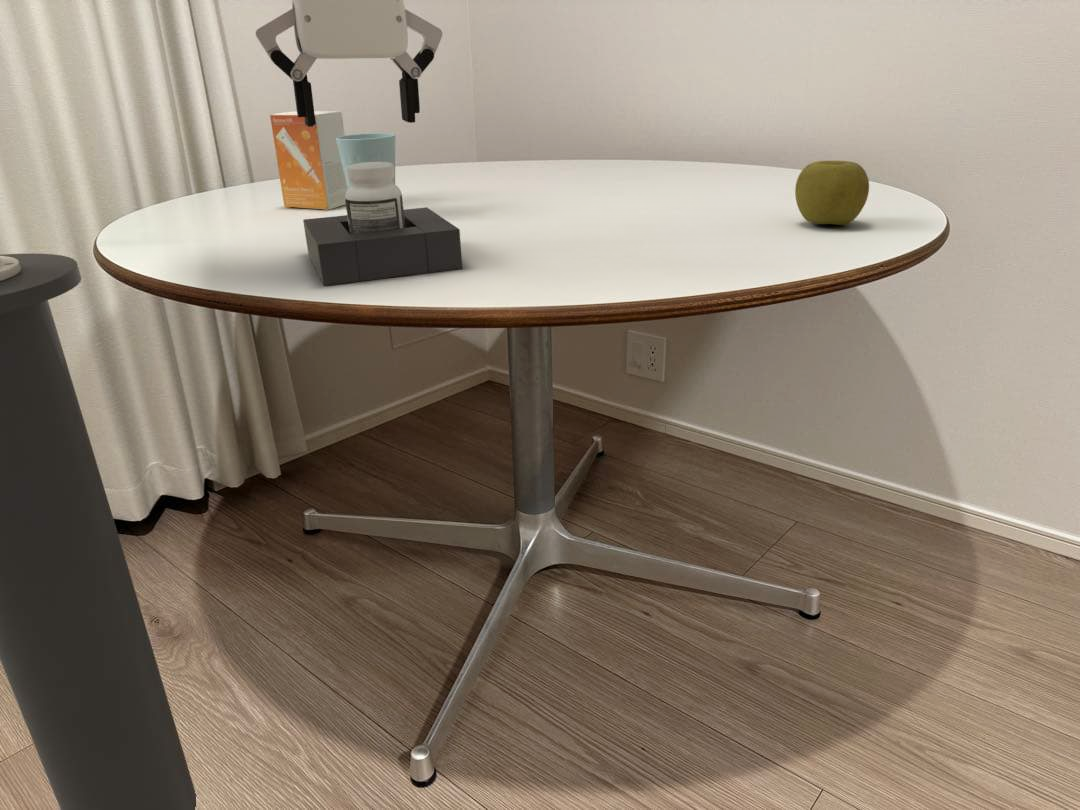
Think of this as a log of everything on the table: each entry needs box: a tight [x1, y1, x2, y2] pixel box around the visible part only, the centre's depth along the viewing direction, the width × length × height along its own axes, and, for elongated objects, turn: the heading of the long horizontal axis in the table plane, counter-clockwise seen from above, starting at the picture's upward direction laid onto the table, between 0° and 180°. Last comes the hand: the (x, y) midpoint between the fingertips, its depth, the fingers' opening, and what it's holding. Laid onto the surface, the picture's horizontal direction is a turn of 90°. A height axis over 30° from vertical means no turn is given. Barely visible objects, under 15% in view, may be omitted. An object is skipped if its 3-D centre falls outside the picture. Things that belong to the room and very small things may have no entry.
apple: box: [794, 160, 870, 226], centre depth 91 cm, size 8×8×7 cm
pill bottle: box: [345, 162, 405, 234], centre depth 81 cm, size 6×6×10 cm
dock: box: [302, 206, 463, 287], centre depth 83 cm, size 14×14×4 cm
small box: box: [269, 110, 348, 211], centre depth 114 cm, size 8×6×13 cm
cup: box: [336, 132, 396, 189], centre depth 106 cm, size 8×8×10 cm
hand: (360, 123), depth 78 cm, fingers open, 9 cm apart
